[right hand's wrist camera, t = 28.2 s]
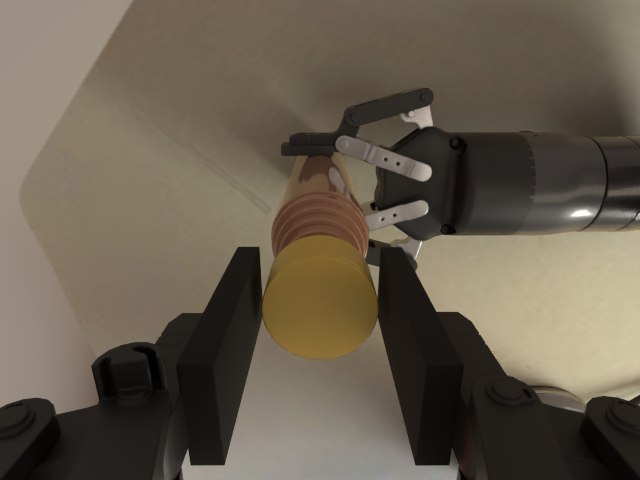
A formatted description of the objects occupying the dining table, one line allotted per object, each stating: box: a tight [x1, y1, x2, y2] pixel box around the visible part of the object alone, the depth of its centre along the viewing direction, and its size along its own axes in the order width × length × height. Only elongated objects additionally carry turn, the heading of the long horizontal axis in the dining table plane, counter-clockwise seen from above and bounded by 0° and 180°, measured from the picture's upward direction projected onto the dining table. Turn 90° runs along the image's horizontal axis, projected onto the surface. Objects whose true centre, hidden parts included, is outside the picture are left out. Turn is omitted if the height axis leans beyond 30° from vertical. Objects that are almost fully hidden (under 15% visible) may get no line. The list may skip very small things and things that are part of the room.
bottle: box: [271, 152, 369, 259], centre depth 25 cm, size 5×5×24 cm
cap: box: [262, 235, 378, 360], centre depth 14 cm, size 4×4×2 cm
